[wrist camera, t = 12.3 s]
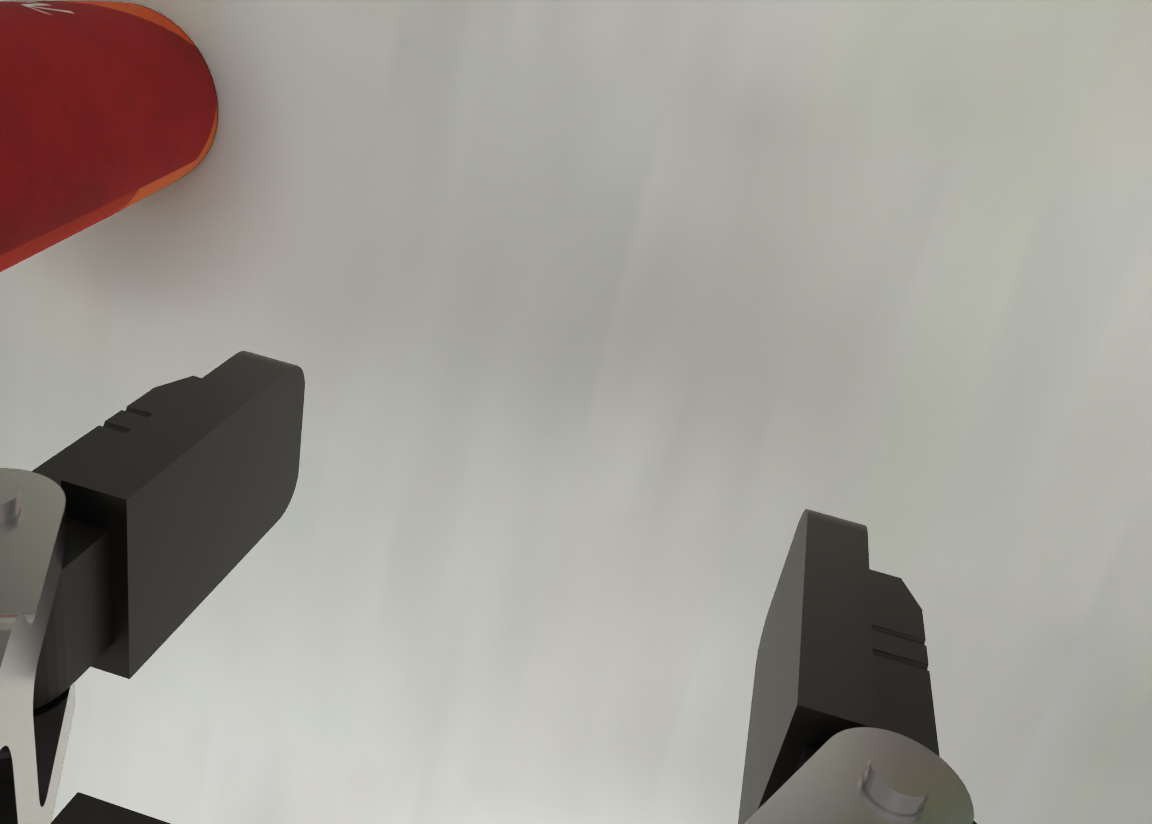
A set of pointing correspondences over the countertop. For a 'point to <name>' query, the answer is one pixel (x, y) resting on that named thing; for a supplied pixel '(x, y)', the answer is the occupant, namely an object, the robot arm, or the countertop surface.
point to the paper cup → (92, 115)
